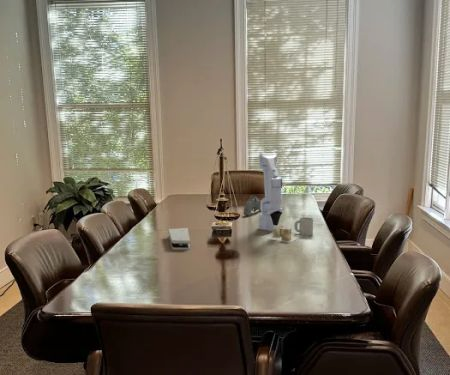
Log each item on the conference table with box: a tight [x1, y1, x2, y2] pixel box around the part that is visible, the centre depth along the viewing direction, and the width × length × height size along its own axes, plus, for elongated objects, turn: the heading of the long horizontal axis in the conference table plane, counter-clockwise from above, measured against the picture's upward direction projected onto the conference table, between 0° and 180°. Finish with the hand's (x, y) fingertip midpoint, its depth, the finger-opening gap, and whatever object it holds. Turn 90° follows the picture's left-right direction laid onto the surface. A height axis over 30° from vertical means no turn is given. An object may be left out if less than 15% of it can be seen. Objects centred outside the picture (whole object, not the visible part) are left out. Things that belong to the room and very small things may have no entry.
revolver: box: [243, 195, 261, 217], centre depth 292 cm, size 5×22×15 cm, turn 148°
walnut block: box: [272, 225, 285, 237], centre depth 233 cm, size 4×4×8 cm
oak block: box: [281, 226, 292, 241], centre depth 222 cm, size 4×4×6 cm
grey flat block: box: [167, 227, 191, 251], centre depth 221 cm, size 26×11×5 cm, turn 8°
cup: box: [293, 216, 314, 237], centre depth 234 cm, size 7×10×9 cm
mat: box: [259, 231, 304, 243], centre depth 229 cm, size 18×16×1 cm
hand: (275, 225), depth 229 cm, fingers closed
